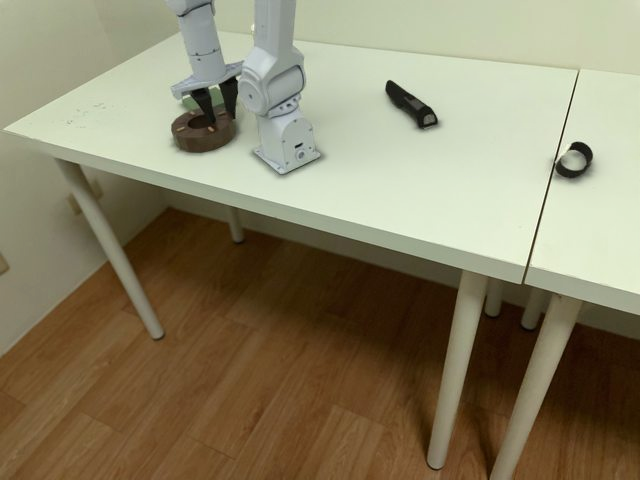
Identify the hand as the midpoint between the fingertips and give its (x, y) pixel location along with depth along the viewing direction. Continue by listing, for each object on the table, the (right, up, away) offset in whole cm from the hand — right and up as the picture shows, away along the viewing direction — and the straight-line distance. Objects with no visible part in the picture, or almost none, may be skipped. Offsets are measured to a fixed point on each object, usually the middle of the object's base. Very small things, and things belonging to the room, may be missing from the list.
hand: (222, 121), depth 88 cm
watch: (+56, -12, -18) cm, 60 cm away
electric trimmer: (+35, +2, -1) cm, 35 cm away
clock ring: (-3, -3, 0) cm, 4 cm away
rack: (-5, +6, +9) cm, 12 cm away
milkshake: (+6, +19, +22) cm, 30 cm away
